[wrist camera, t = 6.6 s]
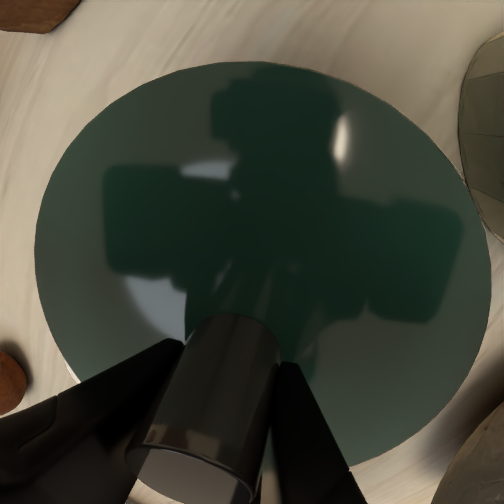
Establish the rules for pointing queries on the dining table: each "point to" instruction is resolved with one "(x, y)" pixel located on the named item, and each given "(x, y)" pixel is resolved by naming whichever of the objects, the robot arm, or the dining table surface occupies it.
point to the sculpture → (33, 14)
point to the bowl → (477, 466)
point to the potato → (10, 383)
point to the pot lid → (262, 266)
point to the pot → (485, 132)
